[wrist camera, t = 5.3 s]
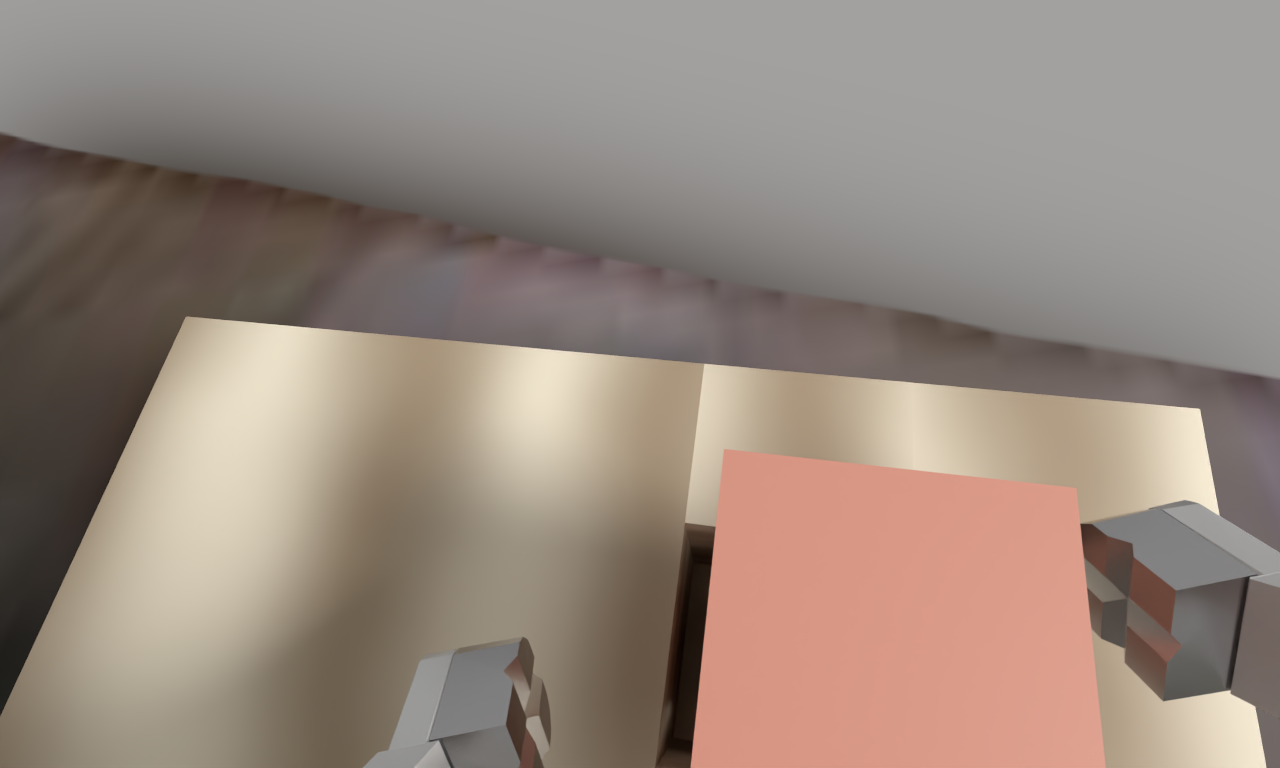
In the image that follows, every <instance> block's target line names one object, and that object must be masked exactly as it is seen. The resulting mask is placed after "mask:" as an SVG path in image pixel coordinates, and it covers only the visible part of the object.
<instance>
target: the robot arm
mask: <svg viewBox="0 0 1280 768" xmlns="http://www.w3.org/2000/svg"><path fill="white" fill-rule="evenodd" d="M1080 527H1081V536H1082V546H1083V555H1084V565H1085V574H1086V584H1087V593H1088V603H1089V612H1090V622H1091V629H1092V630H1093V631H1094V632H1095V633H1096V634H1097V635H1098V636H1099V637H1100V638H1101V639H1103V640H1105V641H1108V642H1110V643H1112V644H1115V645H1117V646H1119V647H1122V648H1124V662H1125V664H1126V665H1127V666H1128V667H1129V668H1130V669H1131V670H1132V671H1133V672H1134V673H1135V674H1136V675H1137V676H1138V677H1139V678H1140V679H1141V680H1142V681H1143V682H1144V683H1145V684H1146V685H1147V686H1148V687H1149V688H1150V689H1151V690H1152V691H1153V692H1154V693H1155V694H1156V695H1157V696H1158V697H1159V698H1160V699H1161V700H1162V701H1169V700H1175V699H1181V698H1187V697H1193V696H1199V695H1205V694H1211V693H1217V692H1223V691H1229V690H1231V692H1230V694H1232V695H1234V696H1236V697H1238V698H1240V699H1242V700H1244V701H1245V702H1247V703H1249V704H1251V705H1253V706H1255V707H1257V708H1259V709H1261V710H1263V711H1265V712H1267V713H1269V714H1271V715H1273V716H1275V717H1277V718H1279V719H1280V553H1279V552H1278V551H1276V550H1274V549H1273V548H1271V547H1269V546H1268V545H1266V544H1265V543H1263V542H1261V541H1260V540H1258V539H1256V538H1255V537H1253V536H1251V535H1250V534H1248V533H1247V532H1245V531H1243V530H1242V529H1240V528H1238V527H1237V526H1235V525H1234V524H1232V523H1230V522H1229V521H1227V520H1225V519H1224V518H1222V517H1221V516H1219V515H1217V514H1216V513H1214V512H1212V511H1211V510H1209V509H1208V508H1206V507H1204V506H1203V505H1201V504H1199V503H1196V502H1192V501H1188V500H1182V501H1178V502H1174V503H1169V504H1165V505H1160V506H1156V507H1151V508H1149V509H1148V510H1141V511H1137V512H1132V513H1127V514H1122V515H1117V516H1113V517H1108V518H1103V519H1098V520H1094V521H1089V522H1084V523H1080ZM533 666H534V654H533V651H532V649H531V646H530V643H529V641H528V639H526V638H525V637H518V638H513V639H507V640H501V641H496V642H490V643H485V644H479V645H473V646H468V647H462V648H459V649H454V650H449V651H443V652H438V653H432V654H427V655H425V656H424V657H423V658H422V659H421V660H420V662H419V663H418V666H417V669H416V672H415V675H414V678H413V681H412V683H411V686H410V689H409V692H408V695H407V698H406V700H405V703H404V706H403V709H402V712H401V715H400V718H399V720H398V723H397V726H396V729H395V732H394V735H393V737H392V740H391V743H390V746H389V749H388V750H387V751H383V752H378V753H377V754H376V755H375V756H374V757H373V758H372V759H371V760H370V761H369V762H368V763H367V764H366V765H365V766H364V767H363V768H544V766H543V763H542V759H543V757H544V756H545V754H546V753H547V752H548V750H549V749H550V741H551V718H550V707H549V702H548V697H547V692H546V689H545V686H544V683H543V680H542V679H541V678H539V677H538V676H536V675H535V674H533Z"/></svg>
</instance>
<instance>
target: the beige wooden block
mask: <svg viewBox="0 0 1280 768" xmlns="http://www.w3.org/2000/svg"><path fill="white" fill-rule="evenodd" d="M724 449H729V450H738V451H747V452H756V453H765V454H774V455H783V456H792V457H801V458H810V459H819V460H828V461H837V462H846V463H855V464H864V465H873V466H882V467H891V468H900V469H909V470H918V471H927V472H936V473H945V474H954V475H963V476H973V477H982V478H991V479H1000V480H1009V481H1018V482H1027V483H1036V484H1045V485H1054V486H1063V487H1072V488H1077V498H1078V507H1079V517H1080V523H1084V522H1089V521H1094V520H1098V519H1103V518H1108V517H1113V516H1117V515H1122V514H1127V513H1132V512H1137V511H1141V510H1148V509H1149V508H1151V507H1156V506H1160V505H1165V504H1169V503H1174V502H1178V501H1182V500H1188V501H1192V502H1196V503H1199V504H1201V505H1203V506H1204V507H1206V508H1208V509H1209V510H1211V511H1212V512H1214V513H1216V514H1217V515H1219V510H1218V505H1217V499H1216V494H1215V488H1214V483H1213V478H1212V472H1211V467H1210V462H1209V456H1208V451H1207V445H1206V440H1205V435H1204V429H1203V424H1202V418H1201V413H1200V409H1194V408H1183V407H1172V406H1161V405H1150V404H1139V403H1128V402H1117V401H1106V400H1095V399H1084V398H1073V397H1062V396H1051V395H1040V394H1030V393H1019V392H1008V391H997V390H986V389H975V388H964V387H953V386H942V385H931V384H920V383H909V382H898V381H887V380H876V379H865V378H854V377H843V376H832V375H821V374H810V373H799V372H788V371H777V370H766V369H755V368H744V367H733V366H722V365H711V364H700V363H689V362H678V361H667V360H656V359H646V358H635V357H624V356H613V355H602V354H591V353H580V352H569V351H558V350H547V349H536V348H525V347H514V346H503V345H492V344H481V343H470V342H459V341H448V340H437V339H426V338H415V337H404V336H393V335H382V334H371V333H360V332H349V331H338V330H327V329H316V328H305V327H294V326H283V325H273V324H262V323H251V322H240V321H229V320H218V319H207V318H196V317H186V318H185V320H184V322H183V324H182V327H181V329H180V331H179V333H178V335H177V337H176V339H175V342H174V344H173V346H172V348H171V350H170V352H169V355H168V357H167V359H166V361H165V363H164V365H163V367H162V370H161V372H160V374H159V376H158V378H157V380H156V382H155V385H154V387H153V389H152V391H151V393H150V395H149V398H148V400H147V402H146V404H145V406H144V408H143V410H142V413H141V415H140V417H139V419H138V421H137V423H136V426H135V428H134V430H133V432H132V434H131V436H130V438H129V441H128V443H127V445H126V447H125V449H124V451H123V454H122V456H121V458H120V460H119V462H118V464H117V466H116V469H115V471H114V473H113V475H112V477H111V479H110V481H109V484H108V486H107V488H106V490H105V492H104V494H103V497H102V499H101V501H100V503H99V505H98V507H97V509H96V512H95V514H94V516H93V518H92V520H91V522H90V525H89V527H88V529H87V531H86V533H85V535H84V537H83V540H82V542H81V544H80V546H79V548H78V550H77V553H76V555H75V557H74V559H73V561H72V563H71V565H70V568H69V570H68V572H67V574H66V576H65V578H64V580H63V583H62V585H61V587H60V589H59V591H58V593H57V596H56V598H55V600H54V602H53V604H52V606H51V608H50V611H49V613H48V615H47V617H46V619H45V621H44V624H43V626H42V628H41V630H40V632H39V634H38V636H37V639H36V641H35V643H34V645H33V647H32V649H31V651H30V654H29V656H28V658H27V660H26V662H25V664H24V667H23V669H22V671H21V673H20V675H19V677H18V679H17V682H16V684H15V686H14V688H13V690H12V692H11V695H10V697H9V699H8V701H7V703H6V705H5V707H4V710H3V712H2V714H1V716H0V768H363V767H364V766H365V765H366V764H367V763H368V762H369V761H370V760H371V759H372V758H373V757H374V756H375V755H376V754H377V753H378V752H383V751H387V750H388V749H389V746H390V743H391V740H392V737H393V735H394V732H395V729H396V726H397V723H398V720H399V718H400V715H401V712H402V709H403V706H404V703H405V700H406V698H407V695H408V692H409V689H410V686H411V683H412V681H413V678H414V675H415V672H416V669H417V666H418V663H419V662H420V660H421V659H422V658H423V657H424V656H425V655H427V654H432V653H438V652H443V651H449V650H454V649H459V648H462V647H468V646H473V645H479V644H485V643H490V642H496V641H501V640H507V639H513V638H518V637H525V638H526V639H528V641H529V643H530V646H531V649H532V651H533V654H534V666H533V674H535V675H536V676H538V677H539V678H541V679H542V680H543V683H544V686H545V689H546V692H547V697H548V702H549V707H550V718H551V741H550V749H549V750H548V752H547V753H546V754H545V756H544V757H543V759H542V763H543V766H544V768H691V759H692V749H693V740H694V730H695V720H696V711H697V701H698V692H699V682H700V673H701V663H702V654H703V644H704V634H705V625H706V615H707V606H708V596H709V587H710V577H711V568H712V558H713V548H714V539H715V529H716V520H717V510H718V501H719V491H720V481H721V472H722V462H723V453H724ZM1219 516H1220V515H1219ZM1091 632H1092V641H1093V651H1094V660H1095V670H1096V679H1097V689H1098V698H1099V708H1100V717H1101V727H1102V737H1103V746H1104V756H1105V765H1106V768H1266V763H1265V758H1264V752H1263V747H1262V742H1261V736H1260V731H1259V725H1258V720H1257V715H1256V709H1255V706H1253V705H1251V704H1249V703H1247V702H1245V701H1244V700H1242V699H1240V698H1238V697H1236V696H1234V695H1232V694H1230V692H1231V690H1229V691H1223V692H1217V693H1211V694H1205V695H1199V696H1193V697H1187V698H1181V699H1175V700H1169V701H1162V700H1161V699H1160V698H1159V697H1158V696H1157V695H1156V694H1155V693H1154V692H1153V691H1152V690H1151V689H1150V688H1149V687H1148V686H1147V685H1146V684H1145V683H1144V682H1143V681H1142V680H1141V679H1140V678H1139V677H1138V676H1137V675H1136V674H1135V673H1134V672H1133V671H1132V670H1131V669H1130V668H1129V667H1128V666H1127V665H1126V664H1125V662H1124V648H1122V647H1119V646H1117V645H1115V644H1112V643H1110V642H1108V641H1105V640H1103V639H1101V638H1100V637H1099V636H1098V635H1097V634H1096V633H1095V632H1094V631H1093V630H1092V629H1091Z"/></svg>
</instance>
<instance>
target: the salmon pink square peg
mask: <svg viewBox="0 0 1280 768" xmlns="http://www.w3.org/2000/svg"><path fill="white" fill-rule="evenodd" d="M691 768H1106V765H1105V756H1104V746H1103V737H1102V727H1101V717H1100V708H1099V698H1098V689H1097V679H1096V670H1095V660H1094V651H1093V641H1092V632H1091V622H1090V612H1089V603H1088V593H1087V584H1086V574H1085V565H1084V555H1083V546H1082V536H1081V527H1080V517H1079V507H1078V498H1077V488H1072V487H1063V486H1054V485H1045V484H1036V483H1027V482H1018V481H1009V480H1000V479H991V478H982V477H973V476H963V475H954V474H945V473H936V472H927V471H918V470H909V469H900V468H891V467H882V466H873V465H864V464H855V463H846V462H837V461H828V460H819V459H810V458H801V457H792V456H783V455H774V454H765V453H756V452H747V451H738V450H729V449H724V453H723V462H722V472H721V481H720V491H719V501H718V510H717V520H716V529H715V539H714V548H713V558H712V568H711V577H710V587H709V596H708V606H707V615H706V625H705V634H704V644H703V654H702V663H701V673H700V682H699V692H698V701H697V711H696V720H695V730H694V740H693V749H692V759H691Z"/></svg>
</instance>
